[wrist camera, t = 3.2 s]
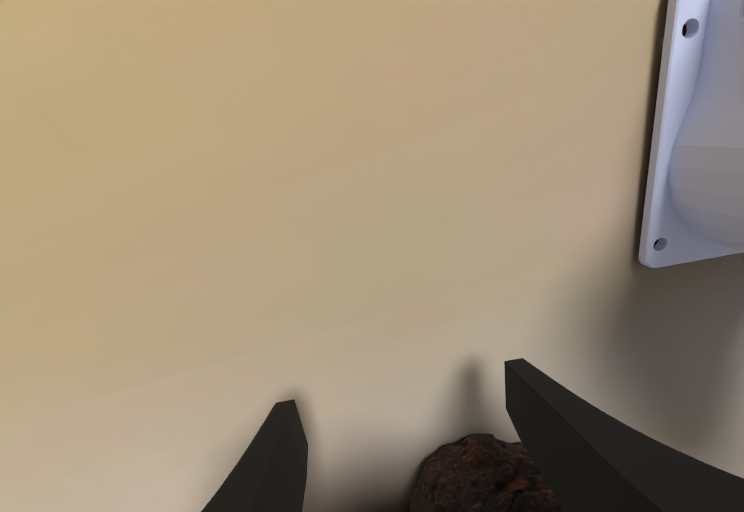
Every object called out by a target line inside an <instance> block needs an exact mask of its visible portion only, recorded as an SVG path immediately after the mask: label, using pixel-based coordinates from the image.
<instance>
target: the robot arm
mask: <svg viewBox="0 0 744 512" xmlns="http://www.w3.org/2000/svg"><path fill="white" fill-rule="evenodd" d="M684 24H685V25H686V26H687V32H686V35H685V36H683V35H682V28H683V25H684ZM657 239H658V242H657V244H656V245H655V246H653V245H654V243H655V241H656V240H657ZM743 252H744V0H668V8H667V16H666V25H665V33H664V42H663V51H662V59H661V68H660V76H659V85H658V93H657V102H656V111H655V119H654V128H653V136H652V145H651V154H650V162H649V171H648V179H647V188H646V196H645V205H644V214H643V222H642V231H641V239H640V248H639V261H640V262H641V264H643V265H645V266H647V267H650V268H660V267H666V266H671V265H677V264H682V263H688V262H693V261H699V260H704V259H710V258H715V257H721V256H726V255H732V254H738V253H743ZM505 392H506V409H507V412H508V414H509V416H510V418H511V421H512V423H513V425H514V427H515V429H516V431H517V434H518V436H519V438H520V440H521V441H522V443H523V445H524V446H525V448H526V450H527V451H528V453H529V455H530V456H531V458H532V460H533V461H534V463H535V465H536V466H537V468H538V470H539V471H540V473H541V475H542V476H543V478H544V480H545V481H546V483H547V485H548V486H549V488H550V489H551V491H552V493H553V494H554V496H555V498H556V499H557V501H558V503H559V504H560V506H561V508H562V510H563V511H564V512H744V479H743V478H740V477H738V476H735V475H733V474H730V473H728V472H725V471H723V470H720V469H718V468H715V467H713V466H711V465H708V464H706V463H704V462H701V461H699V460H697V459H695V458H692V457H690V456H688V455H686V454H683V453H681V452H679V451H677V450H675V449H672V448H670V447H668V446H666V445H664V444H662V443H660V442H658V441H656V440H654V439H652V438H650V437H648V436H646V435H644V434H642V433H640V432H638V431H636V430H635V429H633V428H631V427H629V426H627V425H625V424H623V423H622V422H620V421H618V420H616V419H614V418H613V417H611V416H609V415H608V414H606V413H604V412H603V411H601V410H599V409H598V408H596V407H594V406H593V405H591V404H589V403H588V402H586V401H585V400H583V399H581V398H580V397H578V396H577V395H575V394H574V393H572V392H571V391H569V390H568V389H566V388H565V387H563V386H562V385H560V384H559V383H557V382H556V381H554V380H553V379H552V378H550V377H549V376H547V375H546V374H544V373H543V372H541V371H540V370H539V369H537V368H536V367H534V366H533V365H531V364H530V363H529V362H527V361H526V360H524V359H523V358H521V359H515V360H509V361H505ZM307 457H308V443H307V440H306V437H305V433H304V430H303V427H302V424H301V420H300V417H299V414H298V410H297V407H296V404H295V400H289V401H283V402H278V403H276V404H275V405H274V407H273V408H272V410H271V411H270V413H269V415H268V416H267V418H266V420H265V421H264V423H263V424H262V426H261V428H260V429H259V431H258V433H257V434H256V436H255V437H254V439H253V440H252V442H251V443H250V445H249V447H248V448H247V450H246V451H245V453H244V454H243V456H242V457H241V459H240V460H239V462H238V463H237V465H236V466H235V467H234V469H233V470H232V472H231V473H230V474H229V476H228V477H227V479H226V480H225V481H224V483H223V484H222V485H221V487H220V488H219V490H218V491H217V492H216V494H215V495H214V496H213V497H212V499H211V500H210V501H209V503H208V504H207V505H206V506H205V508H204V509H203V510H202V511H201V512H302V506H303V499H304V492H305V485H306V478H307Z"/></svg>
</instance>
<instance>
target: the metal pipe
mask: <svg viewBox="0 0 744 512" xmlns="http://www.w3.org/2000/svg"><path fill="white" fill-rule="evenodd" d="M410 508H411V512H564V511H563V510H562V508H561V506H560V504H559V503H558V501H557V499H556V498H555V496H554V494H553V493H552V491H551V489H550V488H549V486H548V485H547V483H546V481H545V480H544V478H543V476H542V475H541V473H540V471H539V470H538V468H537V466H536V465H535V463H534V461H533V460H532V458H531V456H530V455H529V453H528V451H527V450H526V448H525V446H524V445H523V444H522V443H515V444H514V445H513V444H508V443H506V442H504V441H501V440H497V439H495V438H494V436H493V434H482V435H473V436H468V437H467V438H466V439H464V440H463V441H462V442H460V443H458V444H454V445H447V446H444V447H442V448H441V449H440V450H439V451H437V452H435V453H434V454H432V455H431V456H430V458H429V459H428V460H427V462H426V464H425V466H424V468H423V470H422V472H421V475H420V477H419V482H418V484H417V487H416V489H415V491H414V493H413V495H412V497H411V501H410Z"/></svg>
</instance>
